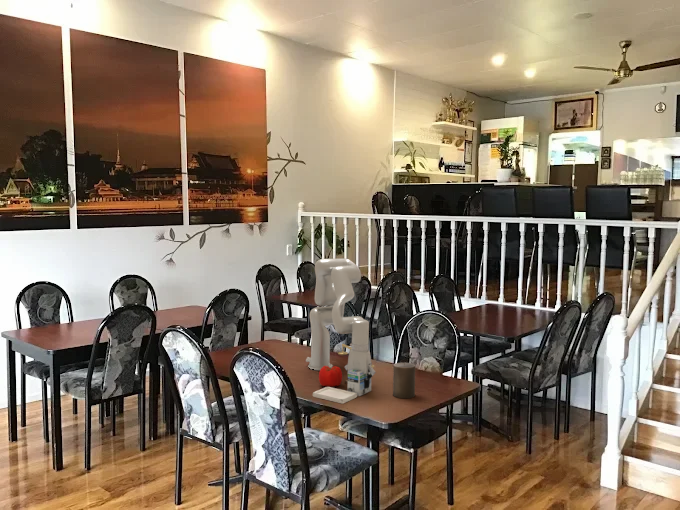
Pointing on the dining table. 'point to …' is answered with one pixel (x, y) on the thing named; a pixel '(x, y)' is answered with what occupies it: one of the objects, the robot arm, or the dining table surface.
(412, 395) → the pillar candle
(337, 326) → the robot arm
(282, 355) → the dining table surface
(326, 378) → the tomato
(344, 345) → the balance
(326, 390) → the platter
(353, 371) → the light bulb box
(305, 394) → the dining table surface
